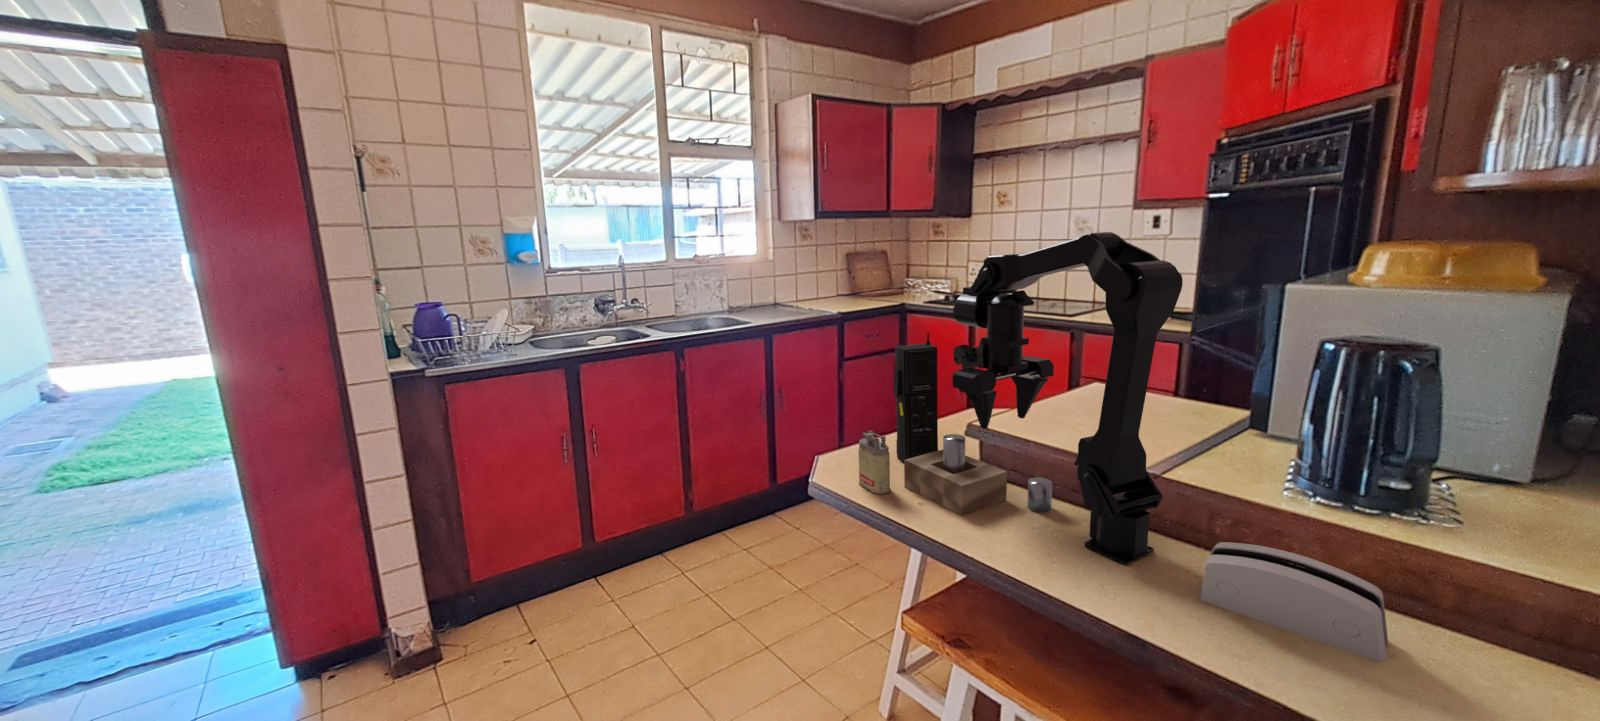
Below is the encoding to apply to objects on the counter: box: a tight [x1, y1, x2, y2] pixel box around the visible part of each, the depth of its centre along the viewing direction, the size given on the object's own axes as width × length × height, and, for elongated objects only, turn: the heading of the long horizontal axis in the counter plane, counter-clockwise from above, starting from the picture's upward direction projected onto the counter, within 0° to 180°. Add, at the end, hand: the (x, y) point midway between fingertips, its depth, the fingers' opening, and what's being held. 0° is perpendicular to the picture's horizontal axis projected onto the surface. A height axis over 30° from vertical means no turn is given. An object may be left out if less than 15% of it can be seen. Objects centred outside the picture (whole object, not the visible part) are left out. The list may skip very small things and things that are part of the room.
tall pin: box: [942, 433, 966, 474], centre depth 108 cm, size 4×4×10 cm
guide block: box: [903, 449, 1008, 516], centre depth 108 cm, size 14×10×5 cm
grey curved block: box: [1199, 541, 1389, 664], centre depth 70 cm, size 17×5×10 cm, turn 43°
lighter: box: [858, 430, 891, 495], centre depth 112 cm, size 7×4×10 cm, turn 28°
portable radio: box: [893, 331, 939, 463], centre depth 122 cm, size 8×6×25 cm
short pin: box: [1026, 476, 1053, 514], centre depth 102 cm, size 4×4×4 cm
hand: (1003, 422), depth 108 cm, fingers open, 9 cm apart
